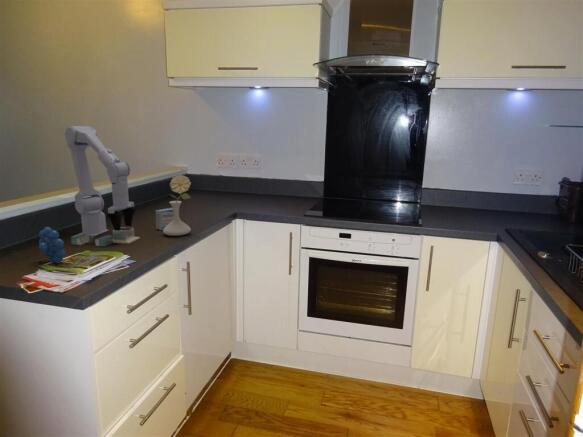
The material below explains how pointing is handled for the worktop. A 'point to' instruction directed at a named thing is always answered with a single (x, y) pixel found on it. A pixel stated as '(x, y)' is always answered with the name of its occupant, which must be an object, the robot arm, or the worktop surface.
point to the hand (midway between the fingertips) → (123, 228)
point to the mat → (127, 241)
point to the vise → (91, 240)
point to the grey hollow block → (123, 234)
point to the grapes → (51, 245)
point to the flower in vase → (176, 225)
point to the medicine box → (163, 218)
